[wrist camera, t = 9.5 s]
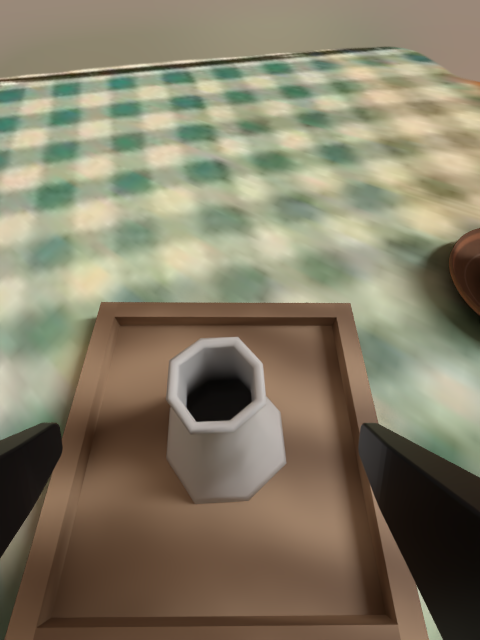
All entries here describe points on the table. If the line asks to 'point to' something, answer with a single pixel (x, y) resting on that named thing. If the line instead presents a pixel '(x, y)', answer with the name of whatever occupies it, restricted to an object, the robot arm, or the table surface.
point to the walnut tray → (216, 518)
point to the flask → (221, 422)
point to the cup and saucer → (467, 268)
